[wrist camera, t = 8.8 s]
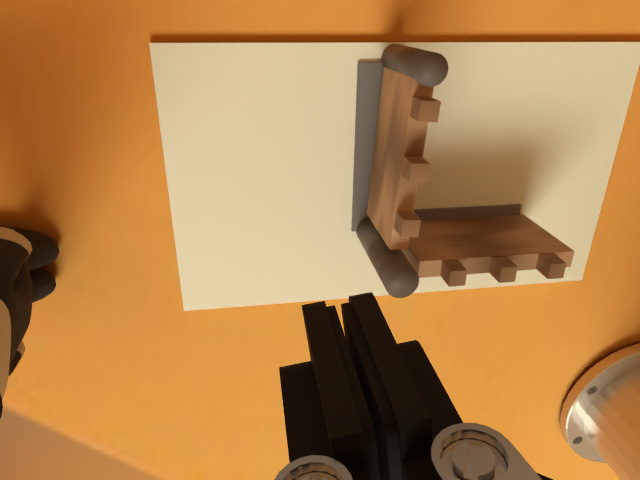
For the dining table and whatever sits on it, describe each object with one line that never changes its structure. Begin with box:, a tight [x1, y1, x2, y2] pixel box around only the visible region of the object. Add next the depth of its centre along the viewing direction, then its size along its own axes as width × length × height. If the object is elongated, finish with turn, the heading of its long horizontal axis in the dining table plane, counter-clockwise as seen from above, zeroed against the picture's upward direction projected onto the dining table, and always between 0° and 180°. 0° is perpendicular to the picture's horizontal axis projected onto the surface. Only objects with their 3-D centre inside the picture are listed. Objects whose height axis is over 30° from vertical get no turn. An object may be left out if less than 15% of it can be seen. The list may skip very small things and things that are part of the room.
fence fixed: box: [356, 214, 574, 298], centre depth 29 cm, size 11×2×7 cm, turn 90°
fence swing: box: [367, 44, 448, 250], centre depth 25 cm, size 10×1×6 cm, turn 176°
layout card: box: [149, 42, 640, 311], centre depth 30 cm, size 28×16×1 cm, turn 90°
